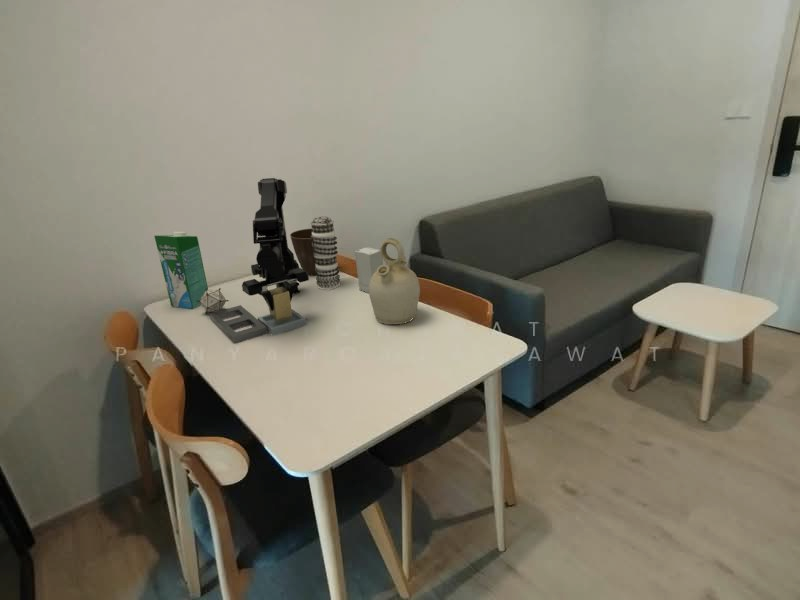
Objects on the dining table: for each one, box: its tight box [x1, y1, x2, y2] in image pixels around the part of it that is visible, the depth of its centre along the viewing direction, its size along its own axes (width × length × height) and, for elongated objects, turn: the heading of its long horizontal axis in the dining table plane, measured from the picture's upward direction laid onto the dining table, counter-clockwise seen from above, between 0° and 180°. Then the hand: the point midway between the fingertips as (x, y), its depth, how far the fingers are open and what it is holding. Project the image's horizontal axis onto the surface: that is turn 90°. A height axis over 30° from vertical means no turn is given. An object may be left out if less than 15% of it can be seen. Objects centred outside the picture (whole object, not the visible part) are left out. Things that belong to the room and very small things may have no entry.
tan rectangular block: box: [268, 287, 293, 322], centre depth 146 cm, size 5×5×8 cm
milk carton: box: [154, 231, 209, 310], centre depth 163 cm, size 9×9×25 cm
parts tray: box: [257, 308, 308, 336], centre depth 148 cm, size 11×11×2 cm
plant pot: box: [289, 228, 317, 276], centre depth 190 cm, size 15×15×16 cm
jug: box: [368, 237, 421, 325], centre depth 145 cm, size 15×16×25 cm
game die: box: [197, 287, 230, 315], centre depth 158 cm, size 9×8×10 cm
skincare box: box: [354, 246, 384, 294], centre depth 169 cm, size 8×6×15 cm
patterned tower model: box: [310, 216, 341, 290], centre depth 174 cm, size 9×9×25 cm
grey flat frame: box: [209, 304, 269, 344], centre depth 148 cm, size 10×22×2 cm, turn 37°
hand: (280, 307), depth 147 cm, fingers closed on tan rectangular block, 5 cm apart
